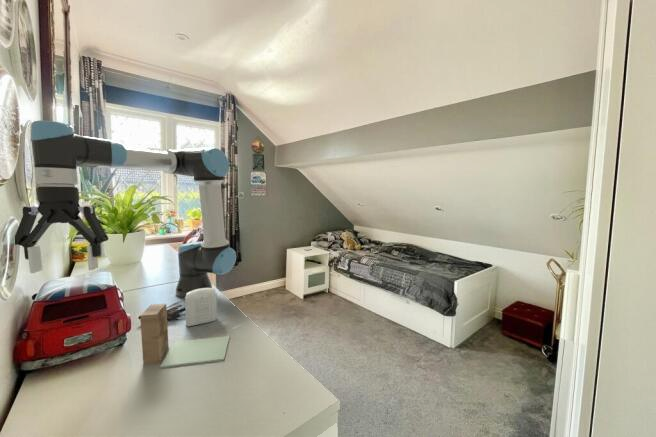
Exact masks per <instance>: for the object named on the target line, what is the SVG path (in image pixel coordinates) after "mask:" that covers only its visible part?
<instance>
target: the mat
mask: <svg viewBox="0 0 656 437" xmlns="http://www.w3.org/2000/svg"><path fill="white" fill-rule="evenodd" d="M230 338H231V337H230V335H228V336H227V335H226V336H217V337H207V338H198V339H197V338H196V339H190V340H179V341H175V342H174V343H173V344H172V346H171V347H170V349H169V351H168V352H167V354H166V356H165V358H164V359H163V361H162V363H160V364H161V365H160V366H159V368H160V369H163V368H172V367H180V366H188V365H196V364H204V363H212V362H214V363H215V362H220V361H225V357H226V354H227V349H228V346H229V340H230Z"/></svg>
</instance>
